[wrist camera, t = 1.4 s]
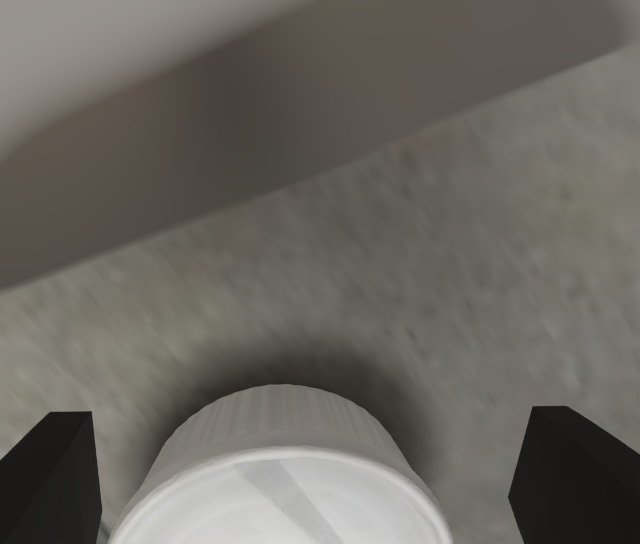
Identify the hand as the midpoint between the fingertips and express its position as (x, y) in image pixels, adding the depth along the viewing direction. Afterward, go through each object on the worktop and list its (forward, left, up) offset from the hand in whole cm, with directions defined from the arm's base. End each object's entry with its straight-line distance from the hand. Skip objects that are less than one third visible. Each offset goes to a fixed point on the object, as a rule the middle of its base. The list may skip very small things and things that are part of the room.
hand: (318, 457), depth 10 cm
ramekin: (0, +10, -11) cm, 15 cm away
